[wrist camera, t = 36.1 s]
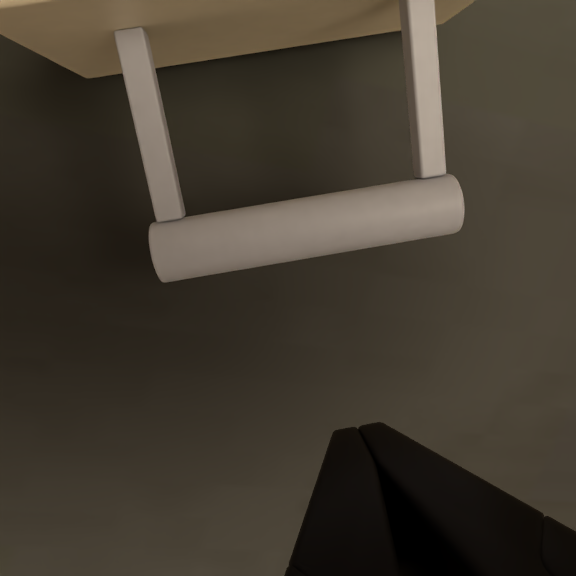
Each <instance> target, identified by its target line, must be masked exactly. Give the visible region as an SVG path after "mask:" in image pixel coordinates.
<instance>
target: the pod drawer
mask: <svg viewBox="0 0 576 576" xmlns="http://www.w3.org/2000/svg"><path fill="white" fill-rule="evenodd" d="M474 1H476V0H0V34H1V35H3V36H5V37H7V38H9V39H11V40H13V41H14V42H16V43H18V44H20V45H22V46H24V47H26V48H28V49H30V50H32V51H34V52H36V53H38V54H40V55H42V56H44V57H46V58H48V59H49V60H51V61H53V62H55V63H57V64H59V65H61V66H63V67H65V68H67V69H69V70H71V71H73V72H75V73H77V74H79V75H81V76H83V77H85V78H87V79H89V78H95V77H102V76H108V75H115V74H121V73H123V77H124V81H125V86H126V90H127V95H128V99H129V103H130V108H131V112H132V117H133V121H134V125H135V130H136V134H137V138H138V143H139V147H140V152H141V156H142V160H143V165H144V169H145V174H146V178H147V182H148V187H149V191H150V196H151V200H152V204H153V209H154V213H155V217H156V221H157V222H153V223H152V224H151V225H150V227H149V247H150V253H151V258H152V262H153V265H154V268H155V271H156V273H157V275H158V277H159V279H160V280H161V281H162V282H165V283H166V282H172V281H178V280H183V279H189V278H195V277H201V276H207V275H213V274H219V273H224V272H230V271H236V270H242V269H248V268H254V267H260V266H266V265H271V264H277V263H283V262H289V261H295V260H301V259H307V258H313V257H318V256H324V255H330V254H336V253H342V252H348V251H354V250H359V249H365V248H371V247H377V246H383V245H389V244H395V243H401V242H406V241H412V240H418V239H424V238H430V237H436V236H442V235H448V234H453V233H456V232H458V231H459V230H460V229H461V227H462V224H463V221H464V199H463V194H462V190H461V187H460V185H459V183H458V181H457V179H456V178H455V177H454V176H453V175H451V174H446V162H445V148H444V133H443V118H442V104H441V89H440V75H439V60H438V46H437V31H436V25H439V24H443V23H445V22H446V21H447V20H449V19H450V18H452V17H453V16H454V15H456V14H457V13H459V12H460V11H461V10H463V9H464V8H466V7H467V6H469V5H470V4H471V3H473V2H474ZM400 30H401V33H402V44H403V56H404V68H405V79H406V91H407V103H408V114H409V126H410V137H411V149H412V161H413V172H414V177H416V178H418V179H412V180H406V181H400V182H394V183H388V184H382V185H376V186H370V187H364V188H358V189H352V190H346V191H340V192H334V193H328V194H322V195H316V196H310V197H304V198H297V199H291V200H285V201H279V202H273V203H267V204H261V205H255V206H249V207H243V208H237V209H231V210H225V211H219V212H213V213H207V214H201V215H195V216H189V217H184V216H185V215H186V212H185V208H184V203H183V198H182V193H181V189H180V184H179V179H178V174H177V170H176V165H175V160H174V156H173V151H172V146H171V141H170V137H169V132H168V127H167V122H166V118H165V113H164V108H163V103H162V99H161V94H160V89H159V84H158V80H157V75H156V70H155V68H160V67H166V66H173V65H179V64H186V63H192V62H199V61H205V60H212V59H218V58H225V57H231V56H238V55H244V54H251V53H257V52H264V51H270V50H277V49H283V48H290V47H296V46H303V45H309V44H316V43H322V42H329V41H335V40H342V39H348V38H355V37H361V36H368V35H374V34H381V33H387V32H394V31H400Z"/></svg>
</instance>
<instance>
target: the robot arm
mask: <svg viewBox="0 0 576 576" xmlns="http://www.w3.org/2000/svg"><path fill="white" fill-rule="evenodd" d="M284 576H576V531H574V530H572V529H570V528H568V527H567V526H565V525H563V524H561V523H560V522H558V521H556V520H554V519H553V518H551V517H549V516H545V517H544V515H543V513H541V512H540V511H538V510H536V509H534V508H533V507H531V506H529V505H527V504H526V503H524V502H522V501H520V500H518V499H517V498H515V497H513V496H511V495H510V494H508V493H506V492H504V491H503V490H501V489H499V488H497V487H495V486H494V485H492V484H490V483H488V482H487V481H485V480H483V479H481V478H480V477H478V476H476V475H474V474H472V473H471V472H469V471H467V470H465V469H464V468H462V467H460V466H458V465H457V464H455V463H453V462H451V461H449V460H448V459H446V458H444V457H442V456H441V455H439V454H437V453H435V452H433V451H432V450H430V449H428V448H426V447H425V446H423V445H421V444H419V443H418V442H416V441H414V440H412V439H410V438H409V437H407V436H405V435H403V434H402V433H400V432H398V431H396V430H395V429H393V428H391V427H389V426H387V425H386V424H384V423H381V422H377V423H372V424H366V425H362V426H360V427H359V428H358V429H357V428H356V427H350V428H345V429H339V430H335V431H334V432H333V434H332V437H331V440H330V443H329V446H328V448H327V451H326V454H325V457H324V460H323V463H322V466H321V469H320V472H319V475H318V478H317V481H316V484H315V487H314V490H313V493H312V496H311V499H310V502H309V505H308V508H307V511H306V514H305V517H304V520H303V523H302V526H301V529H300V532H299V535H298V538H297V541H296V544H295V547H294V550H293V553H292V555H291V558H290V561H289V567H287V570H286V572H285V575H284Z"/></svg>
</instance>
